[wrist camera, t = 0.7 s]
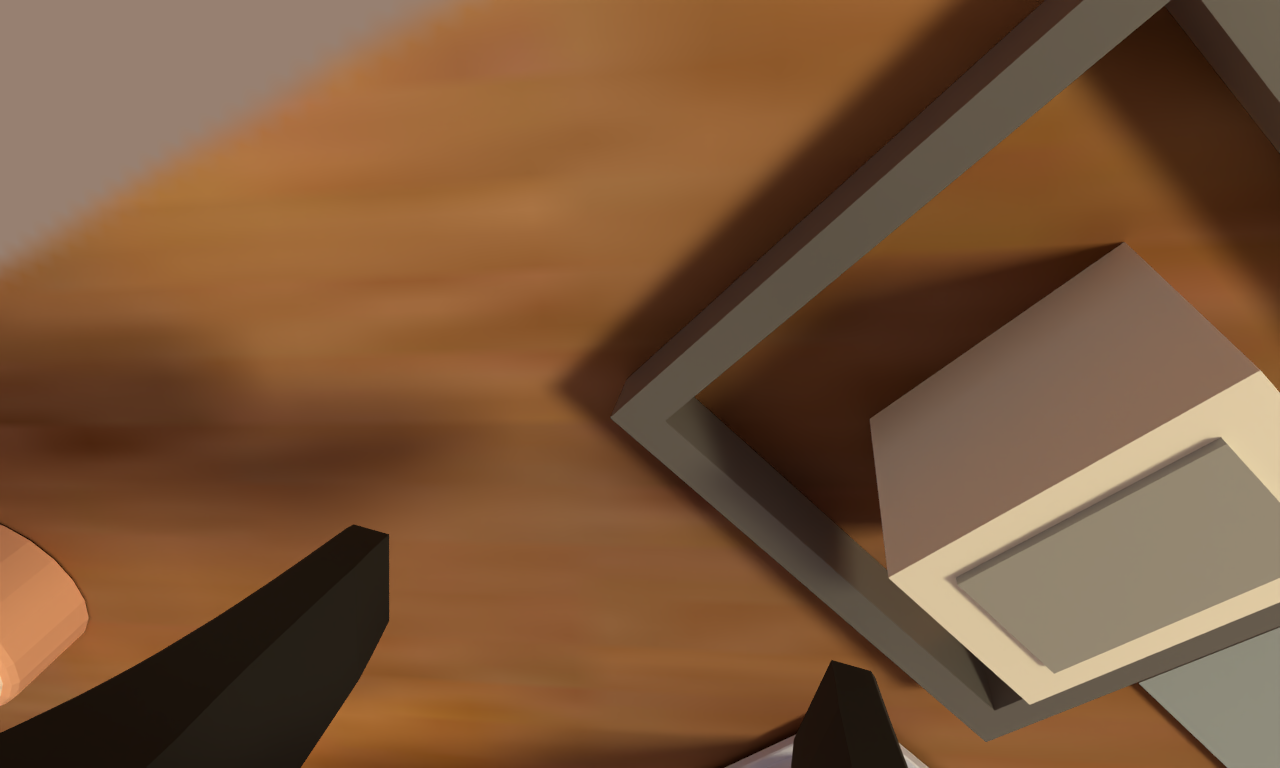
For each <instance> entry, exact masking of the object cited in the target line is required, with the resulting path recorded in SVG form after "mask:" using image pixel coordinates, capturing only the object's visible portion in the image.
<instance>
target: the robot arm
mask: <svg viewBox="0 0 1280 768" xmlns="http://www.w3.org/2000/svg"><path fill="white" fill-rule="evenodd" d="M388 622H389V534H385V533H382V532H378V531H375V530H371V529H368V528H364V527H361V526H357V525H352V526H350V527H348V528H346V529H345V530H344V531H342V532H341V533H339V534H338V535H336V536H335V537H334V538H332V539H331V540H329V541H328V542H327V543H325V544H324V545H322V546H321V547H319V548H318V549H317V550H315V551H314V552H312V553H311V554H310V555H308V556H307V557H305V558H304V559H303V560H301V561H300V562H298V563H297V564H295V565H294V566H292V567H291V568H290V569H288V570H287V571H285V572H284V573H282V574H281V575H279V576H278V577H277V578H275V579H274V580H272V581H271V582H269V583H268V584H266V585H265V586H263V587H262V588H260V589H259V590H257V591H256V592H254V593H253V594H251V595H250V596H248V597H247V598H245V599H244V600H242V601H241V602H239V603H238V604H236V605H235V606H233V607H232V608H230V609H229V610H227V611H225V612H224V613H222V614H221V615H219V616H218V617H216V618H214V619H213V620H211V621H210V622H208V623H206V624H205V625H203V626H201V627H200V628H198V629H196V630H195V631H193V632H191V633H190V634H188V635H186V636H185V637H183V638H182V639H180V640H178V641H177V642H175V643H173V644H172V645H170V646H168V647H167V648H165V649H163V650H162V651H160V652H158V653H157V654H155V655H153V656H151V657H149V658H148V659H146V660H144V661H142V662H141V663H139V664H137V665H135V666H134V667H132V668H130V669H128V670H126V671H124V672H123V673H121V674H119V675H117V676H115V677H113V678H111V679H109V680H108V681H106V682H104V683H102V684H100V685H98V686H96V687H94V688H92V689H90V690H89V691H87V692H85V693H83V694H81V695H79V696H77V697H75V698H73V699H71V700H69V701H67V702H64V703H62V704H60V705H58V706H56V707H54V708H52V709H50V710H48V711H46V712H44V713H42V714H40V715H38V716H35V717H33V718H31V719H29V720H27V721H25V722H23V723H21V724H19V725H17V726H14V727H12V728H10V729H8V730H6V731H4V732H1V733H0V768H301V766H302V765H303V763H304V762H305V760H306V759H307V757H308V756H309V754H310V753H311V751H312V750H313V748H314V747H315V745H316V744H317V742H318V741H319V739H320V738H321V736H322V735H323V733H324V732H325V730H326V729H327V727H328V726H329V724H330V723H331V721H332V720H333V718H334V717H335V715H336V714H337V712H338V711H339V709H340V708H341V706H342V705H343V703H344V702H345V700H346V699H347V697H348V696H349V694H350V693H351V691H352V689H353V688H354V686H355V685H356V683H357V682H358V680H359V678H360V677H361V675H362V673H363V671H364V669H365V667H366V665H367V663H368V661H369V660H370V658H371V656H372V654H373V652H374V650H375V648H376V646H377V644H378V642H379V640H380V638H381V636H382V634H383V632H384V630H385V628H386V626H387V624H388ZM725 768H928V767H927V766H926V765H925V764H924V763H922V762H921V761H920V760H919V759H918V758H916V757H915V756H914V755H913V754H912V753H910V752H909V751H908V750H907V749H906V748H904V747H903V746H902V745H901V744H900V743H898V740H897V737H896V735H895V732H894V729H893V727H892V724H891V721H890V718H889V716H888V713H887V710H886V707H885V704H884V702H883V699H882V696H881V693H880V690H879V687H878V684H877V681H876V678H875V677H874V675H873V674H872V672H871V671H868V670H865V669H861V668H858V667H854V666H850V665H847V664H843V663H840V662H836V661H833V660H831V662H830V664H829V666H828V669H827V671H826V673H825V675H824V677H823V679H822V681H821V683H820V685H819V687H818V690H817V692H816V694H815V696H814V698H813V700H812V702H811V704H810V706H809V708H808V711H807V713H806V715H805V717H804V719H803V721H802V723H801V725H800V727H799V729H798V732H797V734H796V735H794V736H791V737H789V738H787V739H785V740H783V741H781V742H779V743H776V744H774V745H772V746H770V747H768V748H766V749H764V750H761V751H759V752H757V753H755V754H753V755H751V756H749V757H746V758H744V759H742V760H740V761H738V762H736V763H734V764H731V765H729V766H727V767H725Z"/></svg>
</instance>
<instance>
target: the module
mask: <svg viewBox="0 0 1280 768" xmlns="http://www.w3.org/2000/svg"><path fill="white" fill-rule="evenodd" d="M870 427H871V436H872V444H873V453H874V461H875V470H876V478H877V487H878V495H879V503H880V512H881V520H882V529H883V537H884V546H885V554H886V563H887V571H888V578H889V579H890V580H891V581H892V582H893V583H895V584H896V585H897V586H898V587H899V588H900V589H901V590H902V591H904V592H905V593H906V594H907V595H908V596H909V597H910V598H911V599H912V600H914V601H915V602H916V603H917V604H918V605H919V606H920V607H921V608H922V609H924V610H925V611H926V612H927V613H928V614H929V615H930V616H931V617H932V618H934V619H935V620H936V621H937V622H938V623H939V624H940V625H941V626H943V627H944V628H945V629H946V630H947V631H948V632H949V633H950V634H951V635H953V636H954V637H955V638H956V639H957V640H958V641H959V642H960V643H961V644H963V645H964V646H965V647H966V648H967V649H968V650H969V651H970V652H972V653H973V654H974V655H975V656H976V657H977V658H978V659H979V660H980V661H982V662H983V663H984V664H985V665H986V666H987V667H988V668H989V669H990V670H992V671H993V672H994V673H995V674H996V675H997V676H998V677H999V678H1000V679H1002V680H1003V681H1004V682H1005V683H1006V684H1007V685H1008V686H1009V687H1011V688H1012V689H1013V690H1014V691H1015V692H1016V693H1017V694H1018V695H1019V696H1021V697H1022V698H1023V699H1024V700H1025V701H1026V702H1027V703H1028V704H1029V705H1031V704H1033V703H1035V702H1038V701H1040V700H1043V699H1045V698H1048V697H1050V696H1052V695H1055V694H1057V693H1060V692H1062V691H1065V690H1067V689H1070V688H1072V687H1074V686H1077V685H1079V684H1082V683H1084V682H1087V681H1089V680H1091V679H1094V678H1096V677H1099V676H1101V675H1104V674H1106V673H1109V672H1111V671H1113V670H1116V669H1118V668H1121V667H1123V666H1126V665H1128V664H1130V663H1133V662H1135V661H1138V660H1140V659H1143V658H1145V657H1148V656H1150V655H1152V654H1155V653H1157V652H1160V651H1162V650H1165V649H1167V648H1169V647H1172V646H1174V645H1177V644H1179V643H1182V642H1184V641H1187V640H1189V639H1191V638H1194V637H1196V636H1199V635H1201V634H1204V633H1206V632H1208V631H1211V630H1213V629H1216V628H1218V627H1221V626H1223V625H1226V624H1228V623H1230V622H1233V621H1235V620H1238V619H1240V618H1243V617H1245V616H1248V615H1250V614H1252V613H1255V612H1257V611H1260V610H1262V609H1265V608H1267V607H1269V606H1272V605H1274V604H1277V603H1279V602H1280V393H1279V391H1278V390H1277V389H1276V388H1275V387H1274V386H1273V384H1272V383H1271V382H1270V381H1269V380H1268V379H1267V377H1266V376H1265V375H1264V374H1263V373H1262V372H1261V370H1260V369H1259V368H1257V367H1256V366H1255V365H1254V364H1253V363H1252V362H1251V361H1250V360H1249V359H1248V358H1247V357H1246V356H1245V355H1244V354H1243V353H1242V352H1241V351H1239V350H1238V349H1237V348H1236V347H1235V346H1234V345H1233V344H1232V343H1231V342H1230V341H1229V340H1228V339H1227V338H1226V337H1225V336H1224V335H1223V334H1221V333H1220V332H1219V331H1218V330H1217V329H1216V328H1215V327H1214V326H1213V325H1212V324H1211V323H1210V322H1209V321H1208V320H1207V319H1206V318H1205V317H1203V316H1202V315H1201V314H1200V313H1199V312H1198V311H1197V310H1196V309H1195V308H1194V307H1193V306H1192V305H1191V304H1190V303H1189V302H1188V301H1187V300H1186V299H1184V298H1183V297H1182V296H1181V295H1180V294H1179V293H1178V292H1177V291H1176V290H1175V289H1174V288H1173V287H1172V286H1171V285H1170V284H1169V283H1168V282H1166V281H1165V280H1164V279H1163V278H1162V277H1161V276H1160V275H1159V274H1158V273H1157V272H1156V271H1155V270H1154V269H1153V268H1152V267H1151V266H1150V265H1148V264H1147V263H1146V262H1145V261H1144V260H1143V259H1142V258H1141V257H1140V256H1139V255H1138V254H1137V253H1136V252H1135V251H1134V250H1133V249H1132V248H1130V247H1129V246H1128V245H1127V244H1126V243H1125V242H1123V243H1122V244H1121V245H1119V246H1118V247H1116V248H1115V249H1113V250H1112V251H1110V252H1109V253H1108V254H1106V255H1105V256H1103V257H1102V258H1100V259H1099V260H1098V261H1096V262H1095V263H1093V264H1092V265H1090V266H1089V267H1087V268H1086V269H1085V270H1083V271H1082V272H1080V273H1079V274H1077V275H1076V276H1075V277H1073V278H1072V279H1070V280H1069V281H1067V282H1066V283H1064V284H1063V285H1062V286H1060V287H1059V288H1057V289H1056V290H1054V291H1053V292H1051V293H1050V294H1049V295H1047V296H1046V297H1044V298H1043V299H1041V300H1040V301H1039V302H1037V303H1036V304H1034V305H1033V306H1031V307H1030V308H1028V309H1027V310H1026V311H1024V312H1023V313H1021V314H1020V315H1018V316H1017V317H1016V318H1014V319H1013V320H1011V321H1010V322H1008V323H1007V324H1005V325H1004V326H1003V327H1001V328H1000V329H998V330H997V331H995V332H994V333H992V334H991V335H990V336H988V337H987V338H985V339H984V340H982V341H981V342H980V343H978V344H977V345H975V346H974V347H972V348H971V349H969V350H968V351H967V352H965V353H964V354H962V355H961V356H959V357H958V358H957V359H955V360H954V361H952V362H951V363H949V364H948V365H946V366H945V367H944V368H942V369H941V370H939V371H938V372H936V373H935V374H934V375H932V376H931V377H929V378H928V379H926V380H925V381H923V382H922V383H921V384H919V385H918V386H916V387H915V388H913V389H912V390H910V391H909V392H908V393H906V394H905V395H903V396H902V397H900V398H899V399H898V400H896V401H895V402H893V403H892V404H890V405H889V406H887V407H886V408H885V409H883V410H882V411H880V412H879V413H877V414H876V415H875V416H873V417H872V418H870Z"/></svg>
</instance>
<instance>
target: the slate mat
mask: <svg viewBox="0 0 1280 768" xmlns="http://www.w3.org/2000/svg"><path fill="white" fill-rule="evenodd" d="M1138 683H1139V684H1140V685H1141V686H1142V687H1143V688H1144V689H1145V690H1146V691H1147V692H1148V693H1149V694H1150V695H1151V696H1153V697H1154V698H1155V699H1156V700H1157V701H1158V702H1159V703H1160V704H1161V705H1162V706H1163V707H1164V708H1165V709H1166V710H1167V711H1168V712H1169V713H1170V714H1171V715H1173V716H1174V717H1175V718H1176V719H1177V720H1178V721H1179V722H1180V723H1181V724H1182V725H1183V726H1184V727H1185V728H1186V729H1187V730H1188V731H1189V732H1190V733H1191V734H1192V735H1194V736H1195V737H1196V738H1197V739H1198V740H1199V741H1200V742H1201V743H1202V744H1203V745H1204V746H1205V747H1206V748H1207V749H1208V750H1209V751H1210V752H1211V753H1212V754H1213V755H1215V756H1216V757H1217V758H1218V759H1219V760H1220V761H1221V762H1222V763H1223V764H1224V765H1225V766H1226V767H1227V768H1280V626H1278V627H1276V628H1273V629H1271V630H1268V631H1266V632H1263V633H1261V634H1258V635H1256V636H1253V637H1251V638H1248V639H1246V640H1243V641H1240V642H1238V643H1235V644H1233V645H1230V646H1228V647H1225V648H1223V649H1220V650H1218V651H1215V652H1213V653H1210V654H1208V655H1205V656H1203V657H1200V658H1197V659H1195V660H1192V661H1190V662H1187V663H1185V664H1182V665H1180V666H1177V667H1175V668H1172V669H1170V670H1167V671H1165V672H1162V673H1159V674H1157V675H1154V676H1152V677H1149V678H1147V679H1144V680H1142V681H1139V682H1138Z"/></svg>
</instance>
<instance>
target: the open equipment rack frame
mask: <svg viewBox="0 0 1280 768" xmlns="http://www.w3.org/2000/svg"><path fill="white" fill-rule="evenodd" d="M1163 6H1165V7H1166V8H1167V10H1168V11H1169V12H1170V14H1171V15H1172V16H1173V17H1174V19H1175V20H1176V21H1177V22H1178V24H1179V25H1180V26H1181V28H1182V29H1183V30H1184V31H1185V33H1186V34H1187V35H1188V37H1189V38H1190V39H1191V40H1192V42H1193V43H1194V44H1195V46H1196V47H1197V48H1198V49H1199V51H1200V52H1201V53H1202V55H1203V56H1204V57H1205V58H1206V60H1207V61H1208V62H1209V64H1210V65H1211V66H1212V67H1213V69H1214V70H1215V71H1216V73H1217V74H1218V75H1219V76H1220V78H1221V79H1222V80H1223V82H1224V83H1225V84H1226V85H1227V87H1228V88H1229V89H1230V90H1231V92H1232V93H1233V94H1234V96H1235V97H1236V98H1237V99H1238V101H1239V102H1240V103H1241V105H1242V106H1243V107H1244V108H1245V110H1246V111H1247V112H1248V114H1249V115H1250V116H1251V117H1252V119H1253V120H1254V121H1255V123H1256V124H1257V125H1258V126H1259V128H1260V129H1261V130H1262V132H1263V133H1264V134H1265V135H1266V137H1267V138H1268V139H1269V141H1270V142H1271V143H1272V144H1273V146H1274V147H1275V148H1276V150H1277V151H1278V152H1279V153H1280V0H1045V1H1044V2H1043V3H1042V4H1040V5H1039V6H1038V7H1037V8H1036V9H1035V10H1034V11H1033V12H1032V13H1030V14H1029V15H1028V16H1027V17H1026V18H1025V19H1024V20H1023V21H1022V22H1021V23H1019V24H1018V25H1017V26H1016V27H1015V28H1014V29H1013V30H1012V31H1011V32H1009V33H1008V34H1007V35H1006V36H1005V37H1004V38H1003V39H1002V40H1001V41H1000V42H998V43H997V44H996V45H995V46H994V47H993V48H992V49H991V50H990V51H989V52H987V53H986V54H985V55H984V56H983V57H982V58H981V59H980V60H979V61H977V62H976V63H975V64H974V65H973V66H972V67H971V68H970V69H969V70H968V71H966V72H965V73H964V74H963V75H962V76H961V77H960V78H959V79H958V80H957V81H955V82H954V83H953V84H952V85H951V86H950V87H949V88H948V89H947V90H945V91H944V92H943V93H942V94H941V95H940V96H939V97H938V98H937V99H936V100H934V101H933V102H932V103H931V104H930V105H929V106H928V107H927V108H926V109H925V110H923V111H922V112H921V113H920V114H919V115H918V116H917V117H916V118H915V119H913V120H912V121H911V122H910V123H909V124H908V125H907V126H906V127H905V128H904V129H902V130H901V131H900V132H899V133H898V134H897V135H896V136H895V137H894V138H893V139H891V140H890V141H889V142H888V143H887V144H886V145H885V146H884V147H883V148H881V149H880V150H879V151H878V152H877V153H876V154H875V155H874V156H873V157H872V158H870V159H869V160H868V161H867V162H866V163H865V164H864V165H863V166H862V167H860V168H859V169H858V170H857V171H856V172H855V173H854V174H853V175H852V176H851V177H849V178H848V179H847V180H846V181H845V182H844V183H843V184H842V185H841V186H840V187H838V188H837V189H836V190H835V191H834V192H833V193H832V194H831V195H830V196H828V197H827V198H826V199H825V200H824V201H823V202H822V203H821V204H820V205H819V206H817V207H816V208H815V209H814V210H813V211H812V212H811V213H810V214H809V215H808V216H806V217H805V218H804V219H803V220H802V221H801V222H800V223H799V224H798V225H796V226H795V227H794V228H793V229H792V230H791V231H790V232H789V233H788V234H787V235H785V236H784V237H783V238H782V239H781V240H780V241H779V242H778V243H777V244H776V245H774V246H773V247H772V248H771V249H770V250H769V251H768V252H767V253H766V254H764V255H763V256H762V257H761V258H760V259H759V260H758V261H757V262H756V263H755V264H753V265H752V266H751V267H750V268H749V269H748V270H747V271H746V272H745V273H743V274H742V275H741V276H740V277H739V278H738V279H737V280H736V281H735V282H734V283H732V284H731V285H730V286H729V287H728V288H727V289H726V290H725V291H724V292H723V293H721V294H720V295H719V296H718V297H717V298H716V299H715V300H714V301H713V302H711V303H710V304H709V305H708V306H707V307H706V308H705V309H704V310H703V311H702V312H700V313H699V314H698V315H697V316H696V317H695V318H694V319H693V320H692V321H691V322H689V323H688V324H687V325H686V326H685V327H684V328H683V329H682V330H681V331H679V332H678V333H677V334H676V335H675V336H674V337H673V338H672V339H671V340H670V341H668V342H667V343H666V344H665V345H664V346H663V347H662V348H661V349H660V350H659V351H657V352H656V353H655V354H654V355H653V356H652V357H651V358H650V359H649V360H647V361H646V362H645V363H644V364H643V365H642V366H641V367H640V368H639V369H638V370H636V371H635V372H634V373H633V374H632V375H631V376H630V377H629V378H628V379H627V380H626V382H625V384H624V387H623V389H622V391H621V394H620V396H619V398H618V401H617V403H616V405H615V408H614V410H613V412H612V414H611V417H610V418H611V419H612V420H613V421H614V422H616V423H617V424H618V425H619V426H620V427H621V428H623V429H624V430H625V431H626V432H627V433H628V434H630V435H631V436H632V437H633V438H634V439H635V440H637V441H638V442H639V443H640V444H641V445H642V446H643V447H645V448H646V449H647V450H648V451H649V452H650V453H652V454H653V455H654V456H655V457H656V458H657V459H659V460H660V461H661V462H662V463H663V464H664V465H665V466H667V467H668V468H669V469H670V470H671V471H672V472H674V473H675V474H676V475H677V476H678V477H679V478H681V479H682V480H683V481H684V482H685V483H686V484H688V485H689V486H690V487H691V488H692V489H693V490H694V491H696V492H697V493H698V494H699V495H700V496H701V497H703V498H704V499H705V500H706V501H707V502H708V503H710V504H711V505H712V506H713V507H714V508H715V509H716V510H718V511H719V512H720V513H721V514H722V515H723V516H725V517H726V518H727V519H728V520H729V521H730V522H732V523H733V524H734V525H735V526H736V527H737V528H739V529H740V530H741V531H742V532H743V533H744V534H745V535H747V536H748V537H749V538H750V539H751V540H752V541H754V542H755V543H756V544H757V545H758V546H759V547H761V548H762V549H763V550H764V551H765V552H766V553H767V554H769V555H770V556H771V557H772V558H773V559H774V560H776V561H777V562H778V563H779V564H780V565H781V566H783V567H784V568H785V569H786V570H787V571H788V572H789V573H791V574H792V575H793V576H794V577H795V578H796V579H798V580H799V581H800V582H801V583H802V584H803V585H805V586H806V587H807V588H808V589H809V590H810V591H812V592H813V593H814V594H815V595H816V596H817V597H818V598H820V599H821V600H822V601H823V602H824V603H825V604H827V605H828V606H829V607H830V608H831V609H832V610H834V611H835V612H836V613H837V614H838V615H839V616H840V617H842V618H843V619H844V620H845V621H846V622H847V623H849V624H850V625H851V626H852V627H853V628H854V629H856V630H857V631H858V632H859V633H860V634H861V635H863V636H864V637H865V638H866V639H867V640H868V641H869V642H871V643H872V644H873V645H874V646H875V647H876V648H878V649H879V650H880V651H881V652H882V653H883V654H885V655H886V656H887V657H888V658H889V659H890V660H891V661H893V662H894V663H895V664H896V665H897V666H898V667H900V668H901V669H902V670H903V671H904V672H905V673H907V674H908V675H909V676H910V677H911V678H912V679H914V680H915V681H916V682H917V683H918V684H919V685H920V686H922V687H923V688H924V689H925V690H926V691H927V692H929V693H930V694H931V695H932V696H933V697H934V698H936V699H937V700H938V701H939V702H940V703H941V704H942V705H944V706H945V707H946V708H947V709H948V710H949V711H951V712H952V713H953V714H954V715H955V716H956V717H958V718H959V719H960V720H961V721H962V722H963V723H965V724H966V725H967V726H968V727H969V728H970V729H971V730H973V731H974V732H975V733H976V734H977V735H978V736H980V737H981V738H982V739H983V740H984V741H985V742H987V741H990V740H993V739H995V738H998V737H1000V736H1003V735H1005V734H1008V733H1010V732H1013V731H1015V730H1018V729H1020V728H1023V727H1025V726H1028V725H1030V724H1033V723H1036V722H1038V721H1041V720H1043V719H1046V718H1048V717H1051V716H1053V715H1056V714H1058V713H1061V712H1063V711H1066V710H1068V709H1071V708H1073V707H1076V706H1079V705H1081V704H1084V703H1086V702H1089V701H1091V700H1094V699H1096V698H1099V697H1101V696H1104V695H1106V694H1109V693H1111V692H1114V691H1116V690H1119V689H1122V688H1124V687H1127V686H1129V685H1132V684H1134V683H1137V682H1139V681H1142V680H1144V679H1147V678H1149V677H1152V676H1154V675H1157V674H1159V673H1162V672H1165V671H1167V670H1170V669H1172V668H1175V667H1177V666H1180V665H1182V664H1185V663H1187V662H1190V661H1192V660H1195V659H1197V658H1200V657H1203V656H1205V655H1208V654H1210V653H1213V652H1215V651H1218V650H1220V649H1223V648H1225V647H1228V646H1230V645H1233V644H1235V643H1238V642H1240V641H1243V640H1246V639H1248V638H1251V637H1253V636H1256V635H1258V634H1261V633H1263V632H1266V631H1268V630H1271V629H1273V628H1276V627H1278V626H1280V602H1279V603H1277V604H1274V605H1272V606H1269V607H1267V608H1265V609H1262V610H1260V611H1257V612H1255V613H1252V614H1250V615H1248V616H1245V617H1243V618H1240V619H1238V620H1235V621H1233V622H1230V623H1228V624H1226V625H1223V626H1221V627H1218V628H1216V629H1213V630H1211V631H1208V632H1206V633H1204V634H1201V635H1199V636H1196V637H1194V638H1191V639H1189V640H1187V641H1184V642H1182V643H1179V644H1177V645H1174V646H1172V647H1169V648H1167V649H1165V650H1162V651H1160V652H1157V653H1155V654H1152V655H1150V656H1148V657H1145V658H1143V659H1140V660H1138V661H1135V662H1133V663H1130V664H1128V665H1126V666H1123V667H1121V668H1118V669H1116V670H1113V671H1111V672H1109V673H1106V674H1104V675H1101V676H1099V677H1096V678H1094V679H1091V680H1089V681H1087V682H1084V683H1082V684H1079V685H1077V686H1074V687H1072V688H1070V689H1067V690H1065V691H1062V692H1060V693H1057V694H1055V695H1052V696H1050V697H1048V698H1045V699H1043V700H1040V701H1038V702H1035V703H1033V704H1031V705H1029V704H1028V703H1027V702H1026V701H1025V700H1024V699H1023V698H1022V697H1021V696H1019V695H1018V694H1017V693H1016V692H1015V691H1014V690H1013V689H1012V688H1011V687H1009V686H1008V685H1007V684H1006V683H1005V682H1004V681H1003V680H1002V679H1000V678H999V677H998V676H997V675H996V674H995V673H994V672H993V671H992V670H990V669H989V668H988V667H987V666H986V665H985V664H984V663H983V662H982V661H980V660H979V659H978V658H977V657H976V656H975V655H974V654H973V653H972V652H970V651H969V650H968V649H967V648H966V647H965V646H964V645H963V644H961V643H960V642H959V641H958V640H957V639H956V638H955V637H954V636H953V635H951V634H950V633H949V632H948V631H947V630H946V629H945V628H944V627H943V626H941V625H940V624H939V623H938V622H937V621H936V620H935V619H934V618H932V617H931V616H930V615H929V614H928V613H927V612H926V611H925V610H924V609H922V608H921V607H920V606H919V605H918V604H917V603H916V602H915V601H914V600H912V599H911V598H910V597H909V596H908V595H907V594H906V593H905V592H904V591H902V590H901V589H900V588H899V587H898V586H897V585H896V584H895V583H893V582H892V581H891V580H890V579H889V578H888V571H887V570H886V569H885V568H884V567H883V566H882V565H881V564H880V563H878V562H877V561H876V560H875V559H874V558H873V557H872V556H871V555H870V554H868V553H867V552H866V551H865V550H864V549H863V548H862V547H861V546H859V545H858V544H857V543H856V542H855V541H854V540H853V539H852V538H851V537H849V536H848V535H847V534H846V533H845V532H844V531H843V530H842V529H841V528H839V527H838V526H837V525H836V524H835V523H834V522H833V521H832V520H831V519H829V518H828V517H827V516H826V515H825V514H824V513H823V512H822V511H821V510H819V509H818V508H817V507H816V506H815V505H814V504H813V503H812V502H811V501H809V500H808V499H807V498H806V497H805V496H804V495H803V494H802V493H801V492H799V491H798V490H797V489H796V488H795V487H794V486H793V485H792V484H791V483H789V482H788V481H787V480H786V479H785V478H784V477H783V476H782V475H780V474H779V473H778V472H777V471H776V470H775V469H774V468H773V467H772V466H770V465H769V464H768V463H767V462H766V461H765V460H764V459H763V458H762V457H760V456H759V455H758V454H757V453H756V452H755V451H754V450H753V449H752V448H750V447H749V446H748V445H747V444H746V443H745V442H744V441H743V440H742V439H740V438H739V437H738V436H737V435H736V434H735V433H734V432H733V431H732V430H730V429H729V428H728V427H727V426H726V425H725V424H724V423H723V422H722V421H720V420H719V419H718V418H717V417H716V416H715V415H714V414H713V413H712V412H710V411H709V410H708V409H707V408H706V407H705V406H704V405H703V404H702V403H700V402H699V401H698V400H697V399H696V398H695V397H694V396H696V395H697V394H698V393H699V392H700V391H702V390H703V389H704V388H705V387H706V386H708V385H709V384H710V383H711V382H712V381H714V380H715V379H716V378H717V377H718V376H720V375H721V374H722V373H723V372H724V371H726V370H727V369H728V368H729V367H730V366H732V365H733V364H734V363H735V362H736V361H738V360H739V359H740V358H741V357H743V356H744V355H745V354H746V353H747V352H749V351H750V350H751V349H752V348H753V347H755V346H756V345H757V344H758V343H759V342H761V341H762V340H763V339H764V338H765V337H767V336H768V335H769V334H770V333H771V332H773V331H774V330H775V329H776V328H777V327H779V326H780V325H781V324H782V323H783V322H785V321H786V320H787V319H788V318H789V317H791V316H792V315H793V314H794V313H795V312H797V311H798V310H799V309H800V308H801V307H803V306H804V305H805V304H806V303H807V302H809V301H810V300H811V299H812V298H813V297H815V296H816V295H817V294H818V293H819V292H821V291H822V290H823V289H824V288H825V287H827V286H828V285H829V284H830V283H831V282H833V281H834V280H835V279H836V278H837V277H839V276H840V275H841V274H842V273H844V272H845V271H846V270H847V269H848V268H850V267H851V266H852V265H853V264H854V263H856V262H857V261H858V260H859V259H860V258H862V257H863V256H864V255H865V254H866V253H868V252H869V251H870V250H871V249H872V248H874V247H875V246H876V245H877V244H878V243H880V242H881V241H882V240H883V239H884V238H886V237H887V236H888V235H889V234H890V233H892V232H893V231H894V230H895V229H896V228H898V227H899V226H900V225H901V224H902V223H904V222H905V221H906V220H907V219H908V218H910V217H911V216H912V215H913V214H914V213H916V212H917V211H918V210H919V209H920V208H922V207H923V206H924V205H925V204H926V203H928V202H929V201H930V200H931V199H932V198H934V197H935V196H936V195H937V194H938V193H940V192H941V191H942V190H943V189H945V188H946V187H947V186H948V185H949V184H951V183H952V182H953V181H954V180H955V179H957V178H958V177H959V176H960V175H961V174H963V173H964V172H965V171H966V170H967V169H969V168H970V167H971V166H972V165H973V164H975V163H976V162H977V161H978V160H979V159H981V158H982V157H983V156H984V155H985V154H987V153H988V152H989V151H990V150H991V149H993V148H994V147H995V146H996V145H997V144H999V143H1000V142H1001V141H1002V140H1003V139H1005V138H1006V137H1007V136H1008V135H1009V134H1011V133H1012V132H1013V131H1014V130H1015V129H1017V128H1018V127H1019V126H1020V125H1021V124H1023V123H1024V122H1025V121H1026V120H1027V119H1029V118H1030V117H1031V116H1032V115H1033V114H1035V113H1036V112H1037V111H1038V110H1039V109H1041V108H1042V107H1043V106H1044V105H1046V104H1047V103H1048V102H1049V101H1050V100H1052V99H1053V98H1054V97H1055V96H1056V95H1058V94H1059V93H1060V92H1061V91H1062V90H1064V89H1065V88H1066V87H1067V86H1068V85H1070V84H1071V83H1072V82H1073V81H1074V80H1076V79H1077V78H1078V77H1079V76H1080V75H1082V74H1083V73H1084V72H1085V71H1086V70H1088V69H1089V68H1090V67H1091V66H1092V65H1094V64H1095V63H1096V62H1097V61H1098V60H1100V59H1101V58H1102V57H1103V56H1104V55H1106V54H1107V53H1108V52H1109V51H1110V50H1112V49H1113V48H1114V47H1115V46H1116V45H1118V44H1119V43H1120V42H1121V41H1122V40H1124V39H1125V38H1126V37H1127V36H1128V35H1130V34H1131V33H1132V32H1133V31H1134V30H1136V29H1137V28H1138V27H1139V26H1141V25H1142V24H1143V23H1144V22H1145V21H1147V20H1148V19H1149V18H1150V17H1151V16H1153V15H1154V14H1155V13H1156V12H1157V11H1159V10H1160V9H1161V8H1162V7H1163Z"/></svg>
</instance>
